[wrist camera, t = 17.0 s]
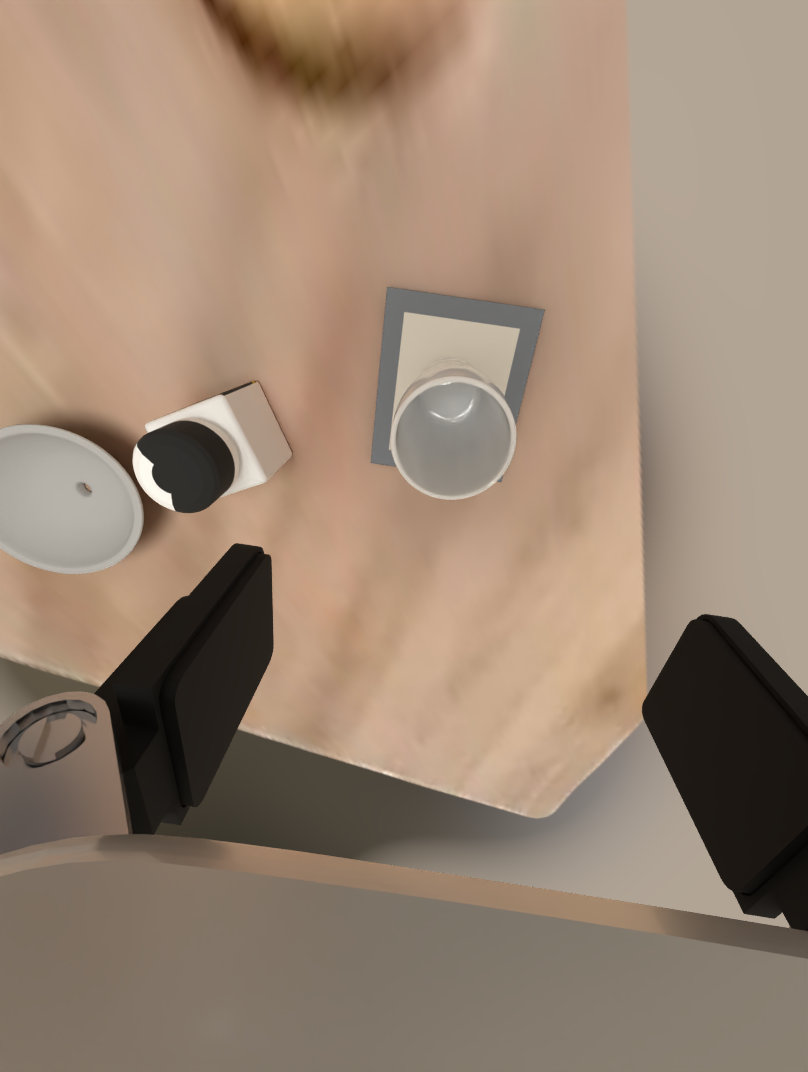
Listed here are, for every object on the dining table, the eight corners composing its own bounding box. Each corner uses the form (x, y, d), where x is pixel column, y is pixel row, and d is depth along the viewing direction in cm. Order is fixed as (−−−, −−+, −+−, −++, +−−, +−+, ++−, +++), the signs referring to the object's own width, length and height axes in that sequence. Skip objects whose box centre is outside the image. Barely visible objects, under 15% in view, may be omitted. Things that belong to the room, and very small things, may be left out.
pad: (388, 287, 33) (387, 286, 32) (543, 309, 33) (545, 309, 32) (371, 460, 40) (370, 463, 39) (500, 479, 40) (501, 482, 39)
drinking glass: (502, 410, 36) (536, 472, 23) (429, 444, 38) (422, 520, 25) (471, 330, 33) (489, 348, 20) (394, 371, 35) (365, 412, 22)
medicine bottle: (258, 379, 37) (185, 408, 27) (294, 455, 40) (241, 508, 30) (189, 405, 39) (95, 443, 28) (229, 477, 42) (157, 535, 31)
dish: (114, 385, 38) (72, 395, 34) (202, 522, 44) (175, 546, 40) (-26, 447, 42) (-80, 463, 38) (71, 565, 48) (35, 591, 44)
